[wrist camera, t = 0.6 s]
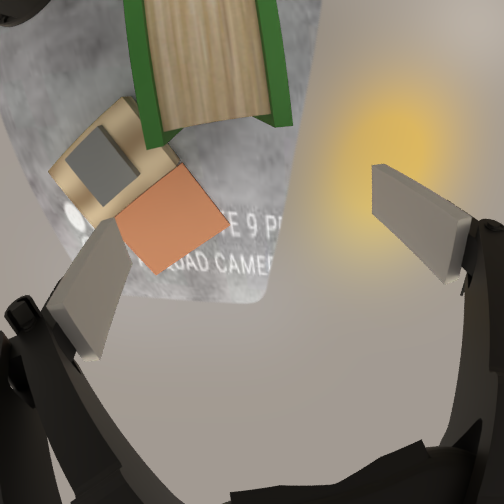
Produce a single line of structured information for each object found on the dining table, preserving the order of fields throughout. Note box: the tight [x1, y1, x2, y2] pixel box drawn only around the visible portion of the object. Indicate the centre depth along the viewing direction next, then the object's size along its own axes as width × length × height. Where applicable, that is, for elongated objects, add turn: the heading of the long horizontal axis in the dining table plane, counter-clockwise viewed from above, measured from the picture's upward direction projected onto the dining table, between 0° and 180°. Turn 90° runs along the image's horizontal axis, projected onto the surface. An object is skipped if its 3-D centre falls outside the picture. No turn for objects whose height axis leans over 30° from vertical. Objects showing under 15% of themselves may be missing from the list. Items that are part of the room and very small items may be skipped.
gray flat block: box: [65, 125, 141, 207], centre depth 31 cm, size 8×6×2 cm
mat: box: [114, 163, 230, 275], centre depth 41 cm, size 11×14×1 cm
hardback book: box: [123, 0, 293, 150], centre depth 20 cm, size 18×7×24 cm, turn 7°
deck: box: [48, 96, 180, 229], centre depth 34 cm, size 11×14×4 cm
